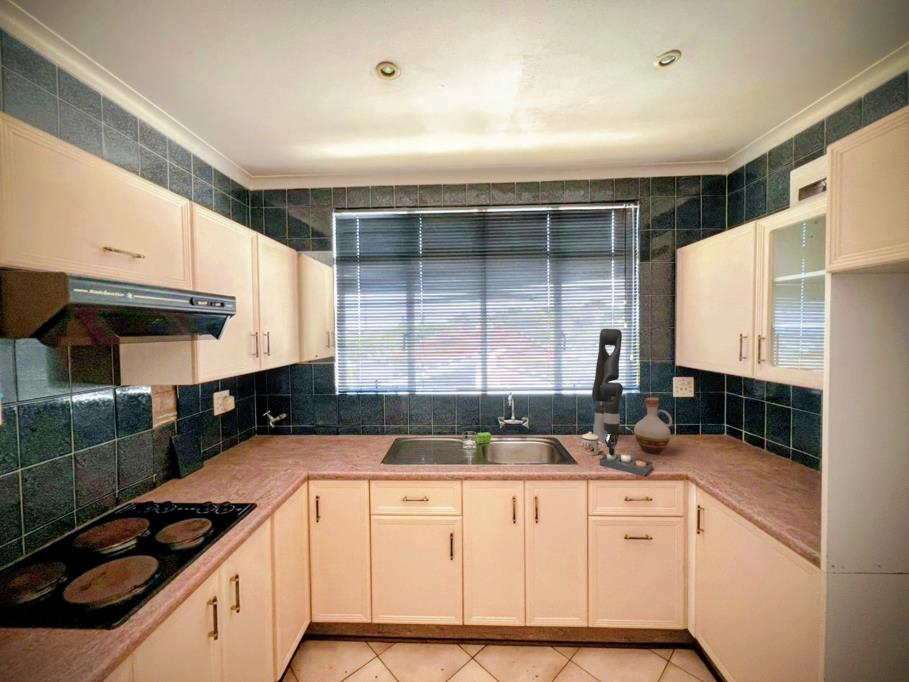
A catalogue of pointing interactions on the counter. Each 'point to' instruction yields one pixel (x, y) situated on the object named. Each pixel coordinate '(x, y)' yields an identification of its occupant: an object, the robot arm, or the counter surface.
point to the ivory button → (626, 458)
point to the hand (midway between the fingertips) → (611, 454)
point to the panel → (626, 465)
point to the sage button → (611, 456)
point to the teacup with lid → (591, 444)
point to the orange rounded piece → (641, 463)
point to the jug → (653, 429)
